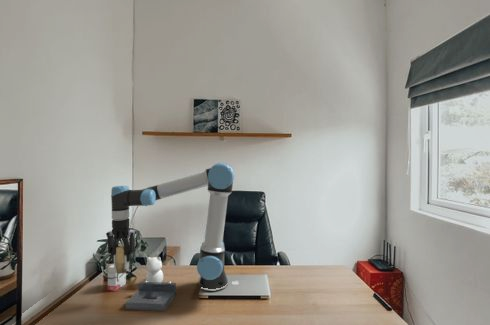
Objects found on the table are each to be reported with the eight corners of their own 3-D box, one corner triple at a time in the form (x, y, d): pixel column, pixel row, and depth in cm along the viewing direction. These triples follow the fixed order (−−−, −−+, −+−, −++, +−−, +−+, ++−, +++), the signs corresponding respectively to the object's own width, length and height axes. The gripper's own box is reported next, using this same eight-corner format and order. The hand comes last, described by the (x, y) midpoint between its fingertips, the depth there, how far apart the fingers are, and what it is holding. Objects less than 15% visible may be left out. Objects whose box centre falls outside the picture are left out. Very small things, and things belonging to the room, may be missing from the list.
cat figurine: (143, 289, 138) (142, 260, 138) (149, 278, 151) (149, 251, 150) (161, 288, 139) (160, 259, 139) (166, 277, 151) (165, 251, 151)
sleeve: (128, 269, 129) (128, 244, 129) (123, 273, 124) (123, 247, 124) (119, 269, 129) (119, 244, 129) (114, 273, 125) (113, 247, 125)
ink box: (115, 291, 136) (115, 267, 136) (107, 290, 137) (106, 267, 137) (126, 283, 144) (126, 261, 144) (118, 283, 145) (118, 261, 145)
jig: (176, 295, 131) (175, 281, 131) (164, 310, 117) (164, 295, 117) (140, 293, 133) (140, 280, 133) (125, 309, 119) (125, 293, 119)
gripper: (142, 217, 129) (143, 265, 129) (107, 217, 131) (108, 264, 131) (134, 220, 122) (135, 271, 122) (98, 220, 124) (99, 270, 124)
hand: (121, 268), depth 127 cm, fingers closed on sleeve, 5 cm apart
